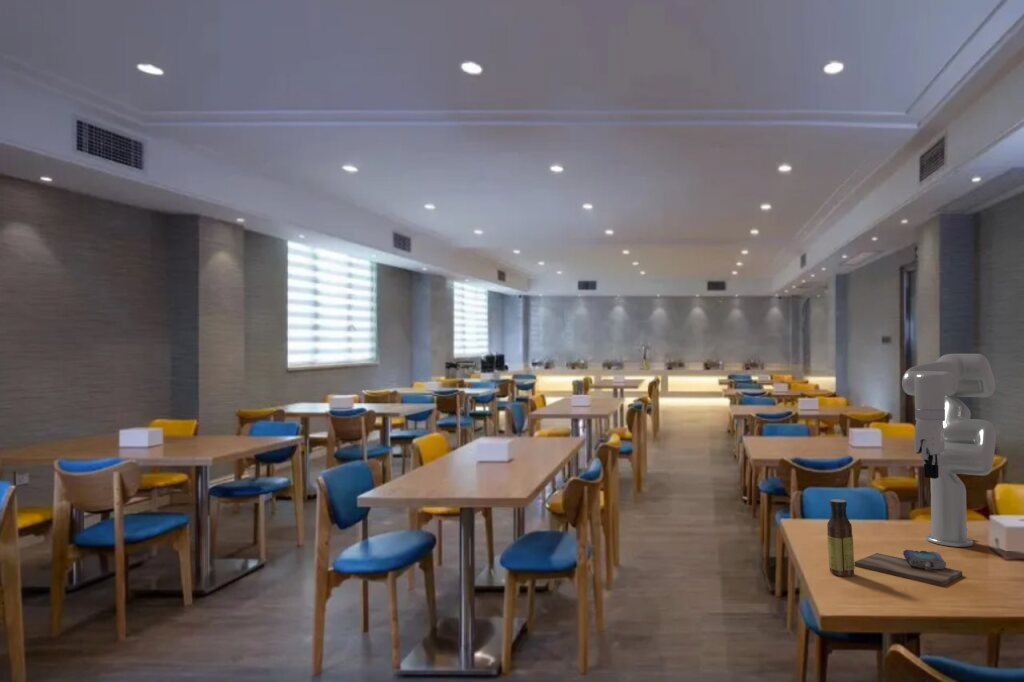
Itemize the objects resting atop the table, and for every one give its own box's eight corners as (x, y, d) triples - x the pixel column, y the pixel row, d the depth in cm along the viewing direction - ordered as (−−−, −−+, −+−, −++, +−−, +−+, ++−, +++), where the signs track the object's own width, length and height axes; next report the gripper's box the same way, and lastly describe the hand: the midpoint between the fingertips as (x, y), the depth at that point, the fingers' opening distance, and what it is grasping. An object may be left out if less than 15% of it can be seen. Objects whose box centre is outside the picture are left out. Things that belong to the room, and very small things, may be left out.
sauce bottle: (852, 571, 185) (851, 498, 186) (856, 578, 179) (855, 503, 180) (826, 569, 187) (825, 497, 188) (829, 576, 181) (828, 501, 182)
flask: (940, 552, 190) (947, 562, 180) (940, 562, 190) (947, 573, 180) (902, 548, 193) (907, 558, 184) (902, 558, 193) (907, 569, 184)
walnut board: (876, 556, 199) (876, 552, 199) (962, 575, 182) (962, 571, 182) (854, 566, 190) (854, 561, 190) (942, 586, 173) (941, 581, 173)
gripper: (926, 412, 206) (927, 472, 205) (905, 416, 196) (906, 479, 196) (954, 414, 200) (955, 476, 200) (934, 418, 190) (935, 483, 190)
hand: (931, 477), depth 198 cm, fingers closed
